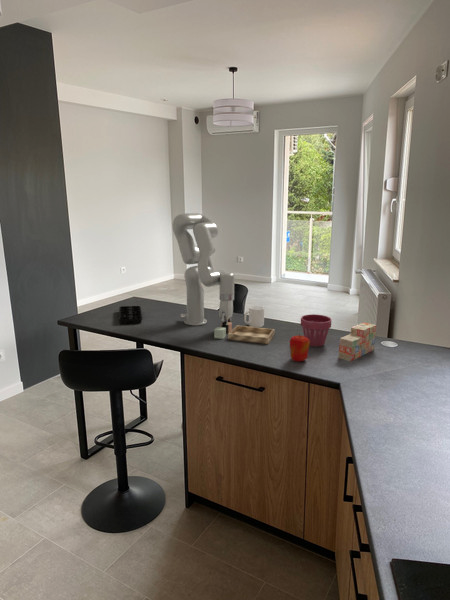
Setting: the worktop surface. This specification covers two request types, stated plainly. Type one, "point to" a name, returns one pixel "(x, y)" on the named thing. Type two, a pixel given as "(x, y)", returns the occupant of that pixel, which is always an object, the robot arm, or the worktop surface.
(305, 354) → the apple
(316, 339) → the plant pot
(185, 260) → the robot arm
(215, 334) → the sage block
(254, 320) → the cup
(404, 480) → the worktop surface
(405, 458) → the worktop surface
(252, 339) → the oak tray
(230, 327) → the terracotta block
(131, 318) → the egg carton
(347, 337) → the stack of blocks
